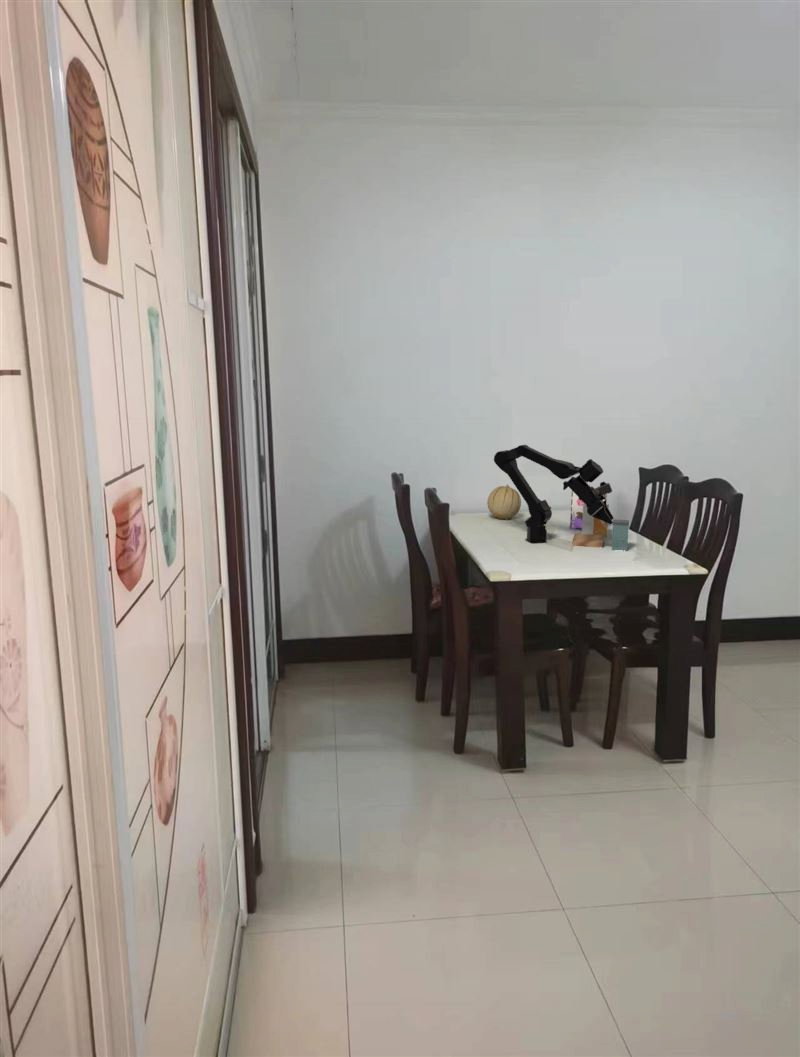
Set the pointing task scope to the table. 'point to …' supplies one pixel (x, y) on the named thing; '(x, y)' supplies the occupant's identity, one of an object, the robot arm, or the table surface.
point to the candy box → (577, 512)
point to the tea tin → (620, 534)
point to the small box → (593, 524)
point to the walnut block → (588, 540)
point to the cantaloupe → (504, 502)
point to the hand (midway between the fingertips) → (612, 521)
